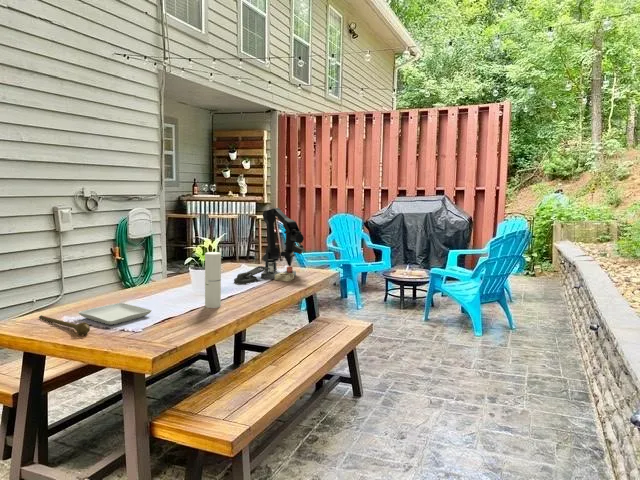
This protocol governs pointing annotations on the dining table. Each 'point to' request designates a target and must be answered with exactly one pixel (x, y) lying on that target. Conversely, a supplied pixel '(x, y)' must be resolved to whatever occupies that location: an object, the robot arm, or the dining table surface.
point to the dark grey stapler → (249, 275)
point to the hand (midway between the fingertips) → (289, 265)
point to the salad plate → (115, 313)
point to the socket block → (272, 276)
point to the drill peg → (270, 267)
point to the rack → (284, 276)
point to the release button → (289, 269)
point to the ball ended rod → (70, 325)
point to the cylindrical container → (212, 279)
